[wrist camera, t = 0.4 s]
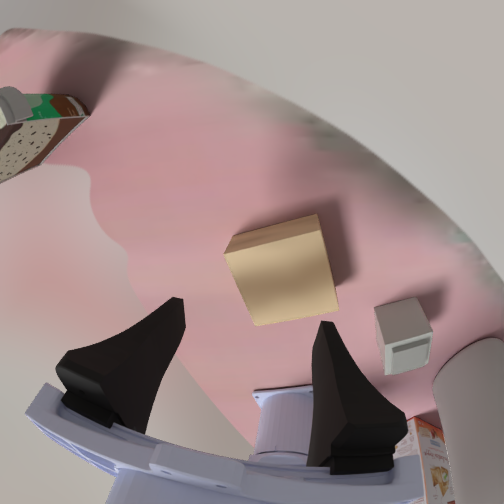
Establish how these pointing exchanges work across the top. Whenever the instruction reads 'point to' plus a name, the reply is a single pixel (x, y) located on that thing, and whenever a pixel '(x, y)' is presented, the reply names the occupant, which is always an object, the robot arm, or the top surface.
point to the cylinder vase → (474, 420)
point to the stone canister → (402, 336)
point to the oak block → (283, 271)
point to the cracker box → (428, 461)
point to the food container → (34, 128)
